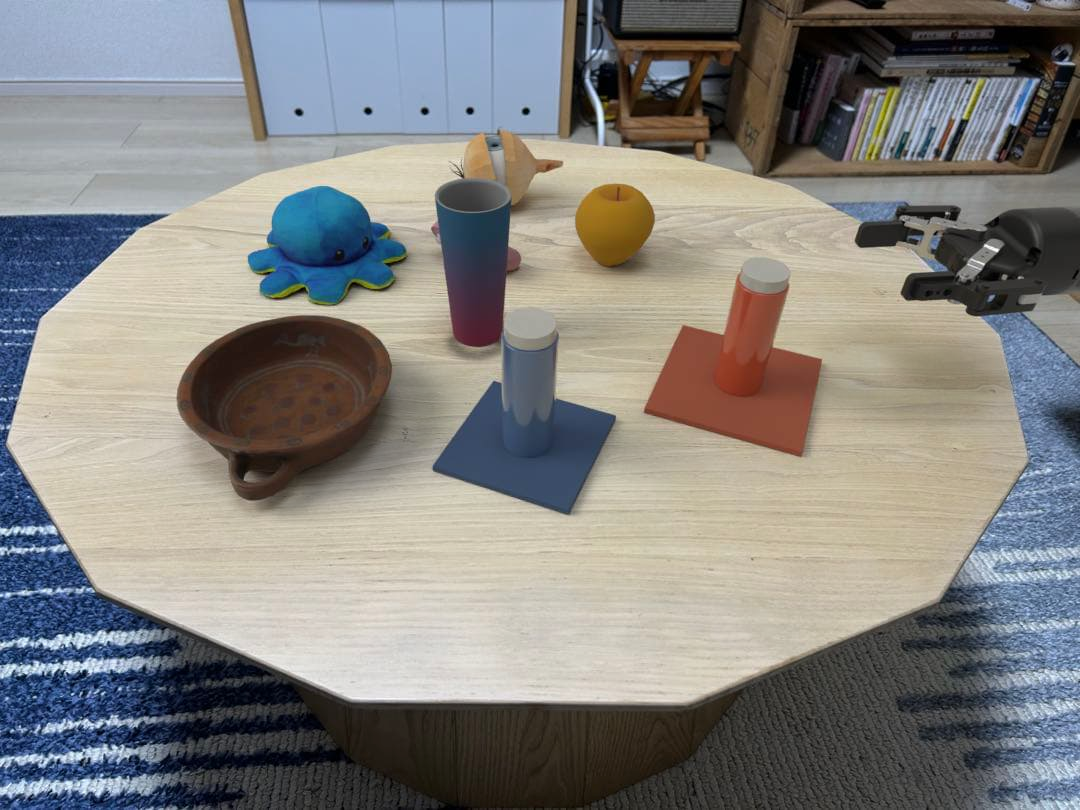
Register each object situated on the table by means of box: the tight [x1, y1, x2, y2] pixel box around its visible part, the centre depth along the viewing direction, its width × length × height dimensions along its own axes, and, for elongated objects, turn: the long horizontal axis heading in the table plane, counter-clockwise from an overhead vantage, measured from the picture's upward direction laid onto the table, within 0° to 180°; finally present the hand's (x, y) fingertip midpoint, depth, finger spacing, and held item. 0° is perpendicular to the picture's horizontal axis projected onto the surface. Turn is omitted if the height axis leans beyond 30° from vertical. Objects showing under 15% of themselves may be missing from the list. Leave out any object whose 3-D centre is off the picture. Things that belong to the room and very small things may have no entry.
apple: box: [574, 183, 656, 267], centre depth 86 cm, size 9×9×9 cm
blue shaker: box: [500, 307, 560, 458], centre depth 61 cm, size 4×4×12 cm
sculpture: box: [447, 125, 565, 207], centre depth 96 cm, size 9×9×15 cm
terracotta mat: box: [643, 324, 823, 457], centre depth 72 cm, size 14×14×1 cm
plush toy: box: [247, 185, 408, 306], centre depth 84 cm, size 17×17×8 cm
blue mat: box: [432, 380, 617, 515], centre depth 66 cm, size 12×12×1 cm
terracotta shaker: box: [714, 256, 792, 396], centre depth 68 cm, size 4×4×12 cm
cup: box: [434, 178, 512, 347], centre depth 73 cm, size 7×7×15 cm
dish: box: [176, 314, 393, 502], centre depth 66 cm, size 17×22×5 cm
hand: (880, 260), depth 65 cm, fingers open, 8 cm apart
